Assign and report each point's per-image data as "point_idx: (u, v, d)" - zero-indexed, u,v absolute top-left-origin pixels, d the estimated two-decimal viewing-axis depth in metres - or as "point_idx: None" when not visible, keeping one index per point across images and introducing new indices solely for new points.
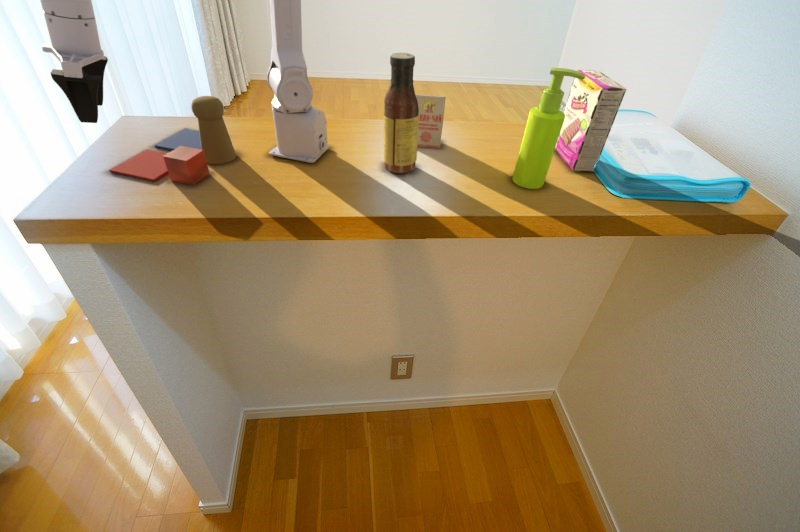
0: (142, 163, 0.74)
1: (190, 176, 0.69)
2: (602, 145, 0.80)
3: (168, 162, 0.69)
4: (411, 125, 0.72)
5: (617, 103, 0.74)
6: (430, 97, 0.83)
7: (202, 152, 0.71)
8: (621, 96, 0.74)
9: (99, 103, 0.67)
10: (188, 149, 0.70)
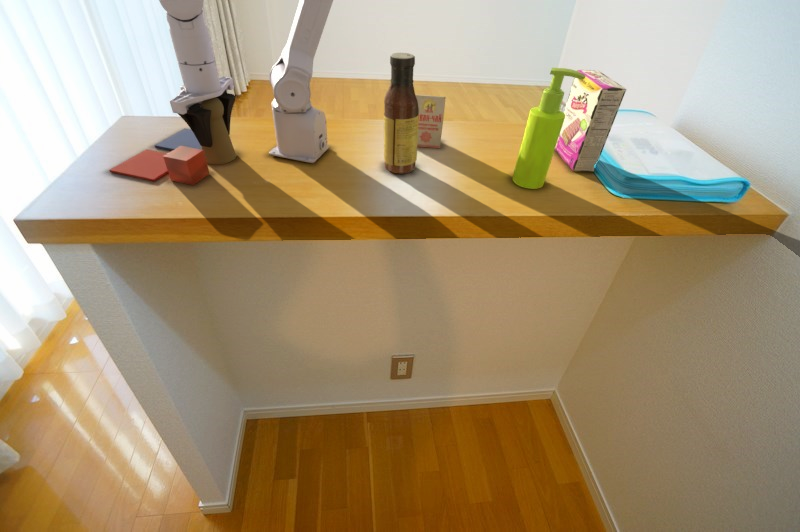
0: (142, 163, 0.74)
1: (190, 176, 0.69)
2: (602, 145, 0.80)
3: (168, 162, 0.69)
4: (411, 125, 0.72)
5: (617, 103, 0.74)
6: (430, 97, 0.83)
7: (202, 152, 0.71)
8: (621, 96, 0.74)
9: None
10: (188, 149, 0.70)
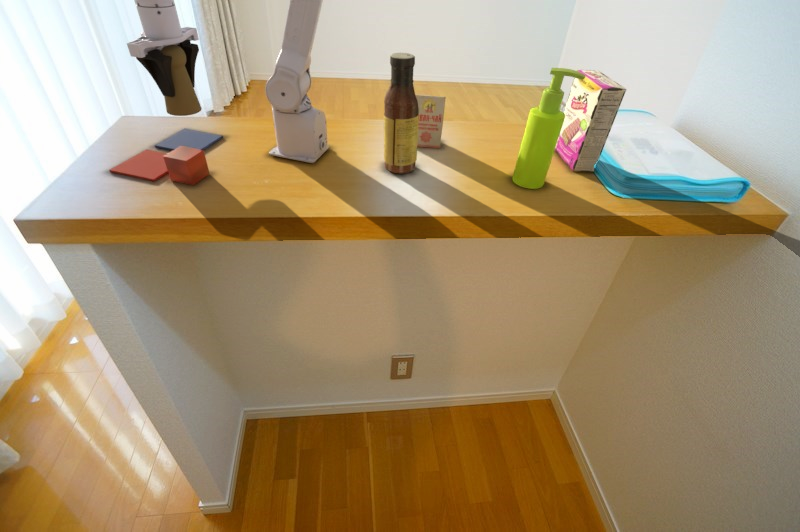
0: (142, 163, 0.74)
1: (190, 176, 0.69)
2: (602, 145, 0.80)
3: (168, 162, 0.69)
4: (411, 125, 0.72)
5: (617, 103, 0.74)
6: (430, 97, 0.83)
7: (202, 152, 0.71)
8: (621, 96, 0.74)
9: None
10: (188, 149, 0.70)
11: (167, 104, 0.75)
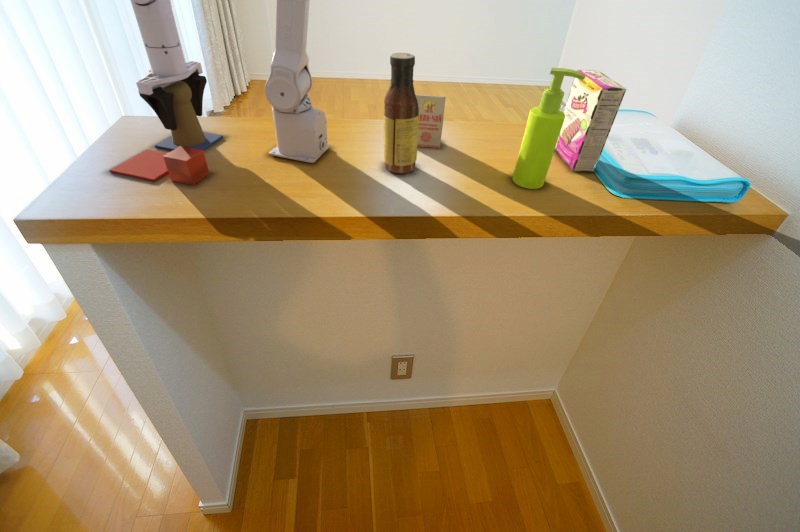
0: (142, 163, 0.74)
1: (190, 176, 0.69)
2: (602, 145, 0.80)
3: (168, 162, 0.69)
4: (411, 125, 0.72)
5: (617, 103, 0.74)
6: (430, 97, 0.83)
7: (202, 152, 0.71)
8: (621, 96, 0.74)
9: (198, 114, 0.82)
10: (188, 149, 0.70)
11: (173, 136, 0.80)
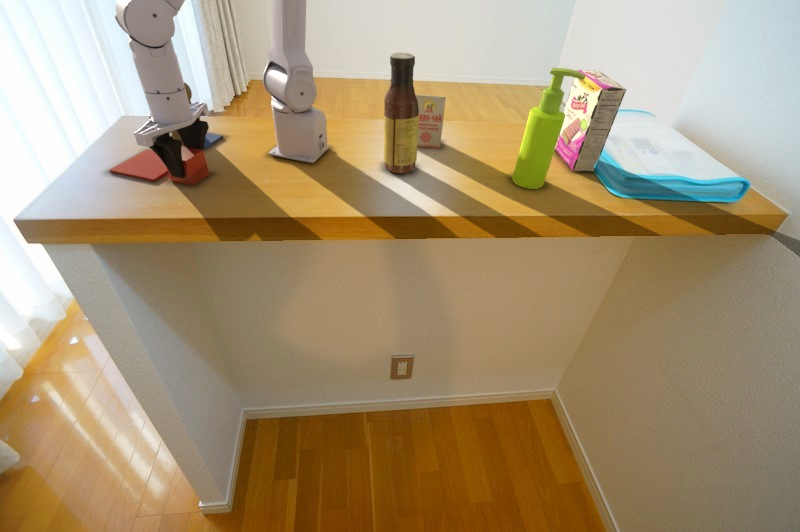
0: (142, 163, 0.74)
1: (190, 176, 0.69)
2: (602, 145, 0.80)
3: None
4: (411, 125, 0.72)
5: (617, 103, 0.74)
6: (430, 97, 0.83)
7: (202, 152, 0.71)
8: (621, 96, 0.74)
9: None
10: (188, 149, 0.70)
11: (173, 136, 0.80)
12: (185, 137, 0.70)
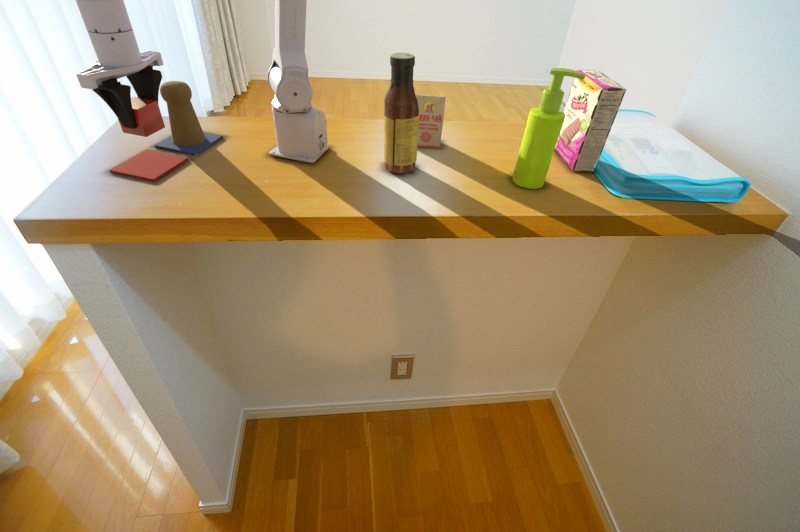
0: (142, 163, 0.74)
1: (142, 127, 0.67)
2: (602, 145, 0.80)
3: None
4: (411, 125, 0.72)
5: (617, 103, 0.74)
6: (430, 97, 0.83)
7: (155, 103, 0.68)
8: (621, 96, 0.74)
9: None
10: (141, 100, 0.68)
11: (173, 136, 0.80)
12: (137, 87, 0.68)
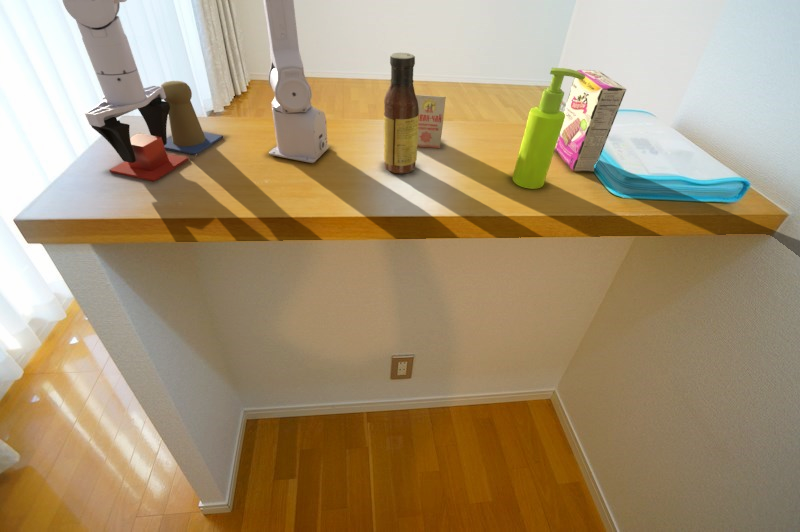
0: None
1: (147, 162, 0.71)
2: (602, 145, 0.80)
3: None
4: (411, 125, 0.72)
5: (617, 103, 0.74)
6: (430, 97, 0.83)
7: (160, 139, 0.73)
8: (621, 96, 0.74)
9: None
10: (146, 136, 0.72)
11: (173, 136, 0.80)
12: (147, 117, 0.73)
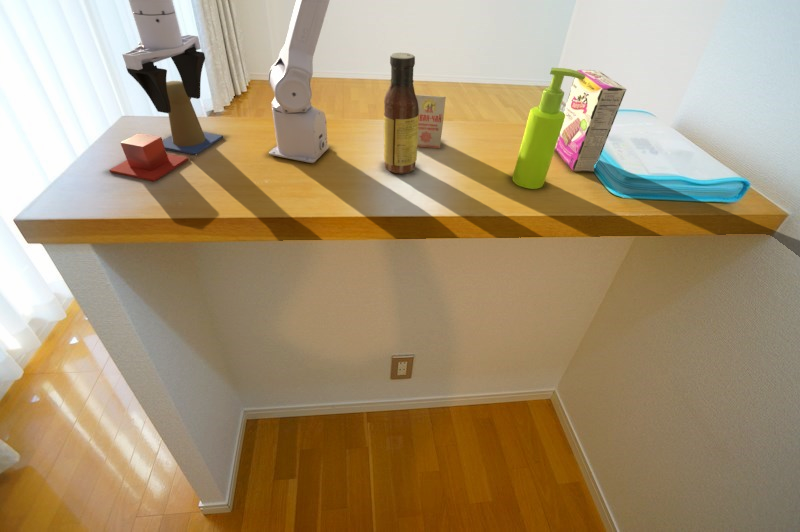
0: None
1: (147, 162, 0.71)
2: (602, 145, 0.80)
3: (125, 148, 0.71)
4: (411, 125, 0.72)
5: (617, 103, 0.74)
6: (430, 97, 0.83)
7: (160, 139, 0.73)
8: (621, 96, 0.74)
9: (196, 96, 0.73)
10: (146, 136, 0.72)
11: (173, 136, 0.80)
12: (181, 68, 0.70)
